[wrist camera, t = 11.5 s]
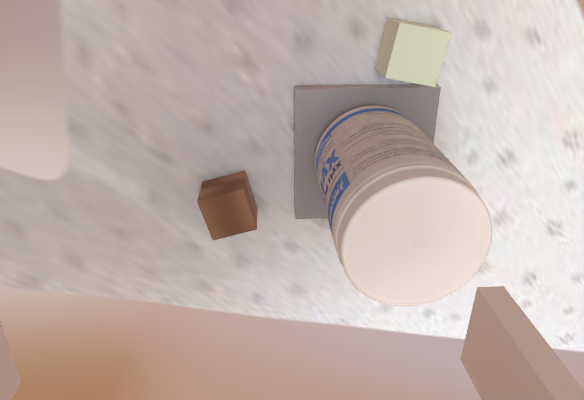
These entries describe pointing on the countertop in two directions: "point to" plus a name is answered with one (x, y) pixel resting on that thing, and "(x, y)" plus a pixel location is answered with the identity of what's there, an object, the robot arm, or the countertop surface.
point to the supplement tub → (398, 209)
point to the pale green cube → (412, 52)
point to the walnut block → (228, 205)
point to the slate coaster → (335, 102)
